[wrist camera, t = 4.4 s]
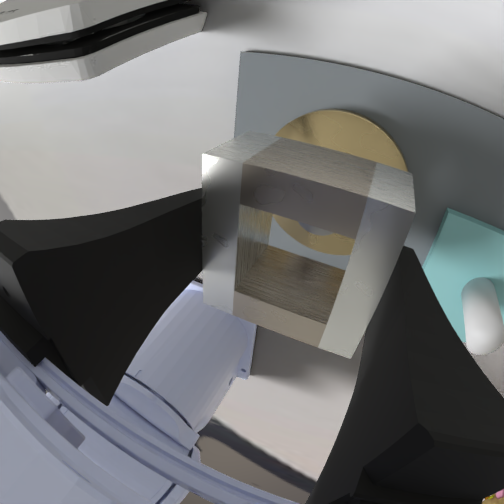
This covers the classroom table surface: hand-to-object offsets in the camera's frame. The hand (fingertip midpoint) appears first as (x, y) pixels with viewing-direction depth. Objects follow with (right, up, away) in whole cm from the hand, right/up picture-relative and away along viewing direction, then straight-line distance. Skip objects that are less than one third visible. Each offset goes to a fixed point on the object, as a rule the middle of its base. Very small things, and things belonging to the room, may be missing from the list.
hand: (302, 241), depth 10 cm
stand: (+10, -2, +4) cm, 11 cm away
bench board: (+6, +1, +4) cm, 7 cm away
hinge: (-11, +16, +4) cm, 20 cm away
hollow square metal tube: (+1, +1, +1) cm, 2 cm away
